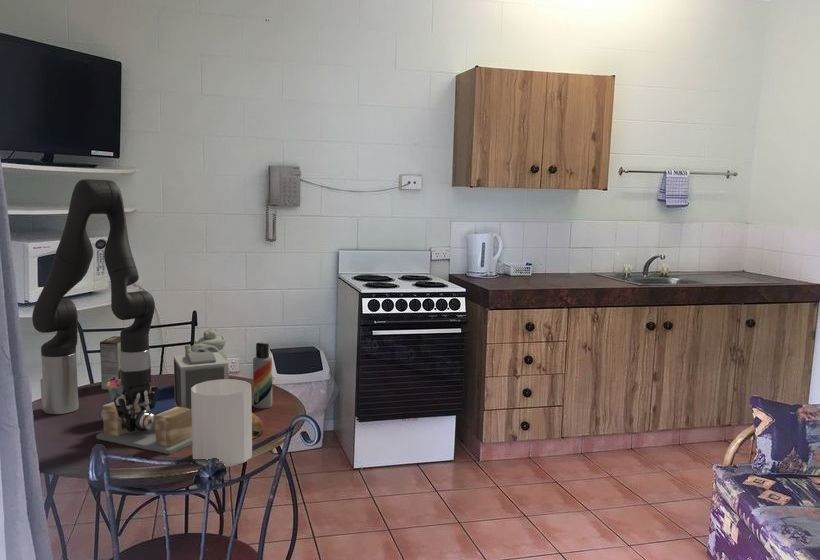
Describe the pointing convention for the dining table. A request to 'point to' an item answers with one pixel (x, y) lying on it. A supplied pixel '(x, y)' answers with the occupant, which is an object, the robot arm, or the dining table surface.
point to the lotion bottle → (262, 377)
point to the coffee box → (110, 360)
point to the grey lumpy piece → (208, 344)
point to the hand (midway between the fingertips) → (137, 428)
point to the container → (222, 421)
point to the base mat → (143, 441)
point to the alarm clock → (196, 373)
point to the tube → (141, 420)
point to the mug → (115, 389)
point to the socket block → (173, 426)
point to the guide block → (113, 420)
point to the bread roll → (256, 426)
